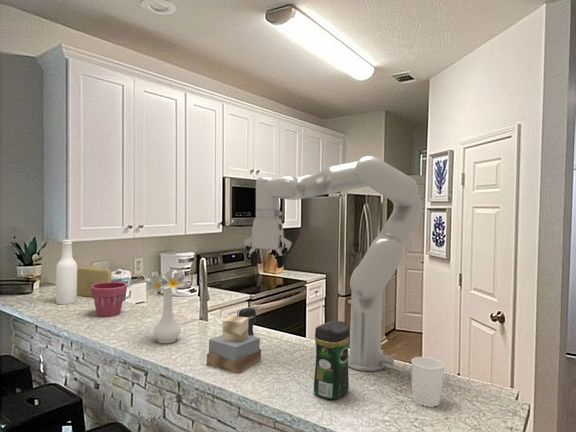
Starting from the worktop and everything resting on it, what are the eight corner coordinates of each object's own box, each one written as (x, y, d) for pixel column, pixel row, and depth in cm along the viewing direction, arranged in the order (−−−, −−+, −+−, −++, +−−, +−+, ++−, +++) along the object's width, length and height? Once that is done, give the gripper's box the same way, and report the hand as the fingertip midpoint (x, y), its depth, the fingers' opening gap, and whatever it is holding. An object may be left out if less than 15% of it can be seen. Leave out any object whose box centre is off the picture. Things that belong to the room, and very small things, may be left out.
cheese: (118, 298, 207) (119, 269, 206) (100, 302, 199) (101, 271, 198) (93, 292, 219) (94, 264, 219) (76, 295, 211) (76, 266, 211)
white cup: (435, 394, 109) (436, 357, 109) (447, 408, 101) (449, 368, 101) (406, 393, 109) (407, 356, 108) (416, 408, 101) (417, 368, 100)
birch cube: (248, 336, 129) (248, 317, 129) (241, 342, 123) (241, 322, 123) (230, 334, 130) (230, 315, 130) (222, 340, 125) (222, 320, 125)
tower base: (260, 361, 130) (261, 349, 129) (239, 375, 119) (240, 361, 119) (229, 354, 135) (229, 342, 135) (206, 366, 124) (206, 353, 124)
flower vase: (161, 331, 156) (162, 265, 155) (197, 340, 146) (198, 270, 146) (132, 340, 145) (133, 269, 144) (169, 351, 135) (171, 275, 135)
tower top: (259, 350, 128) (259, 338, 128) (235, 361, 119) (235, 347, 119) (233, 343, 134) (233, 331, 134) (208, 352, 125) (209, 339, 125)
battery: (242, 343, 145) (243, 311, 145) (235, 340, 147) (236, 309, 147) (257, 338, 150) (257, 307, 150) (249, 336, 153) (250, 306, 152)
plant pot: (114, 319, 169) (114, 289, 169) (83, 317, 172) (83, 287, 171) (132, 311, 184) (133, 282, 183) (103, 309, 186) (104, 281, 185)
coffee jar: (327, 382, 114) (329, 316, 114) (352, 390, 110) (354, 321, 109) (308, 394, 107) (310, 323, 106) (334, 403, 102) (336, 329, 101)
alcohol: (51, 303, 193) (52, 240, 192) (67, 299, 201) (68, 238, 200) (64, 305, 190) (65, 241, 189) (80, 302, 198) (81, 240, 197)
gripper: (295, 215, 135) (295, 267, 135) (250, 214, 142) (249, 263, 142) (286, 215, 128) (285, 270, 128) (238, 214, 135) (238, 266, 135)
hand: (266, 266), depth 135 cm, fingers open, 9 cm apart
